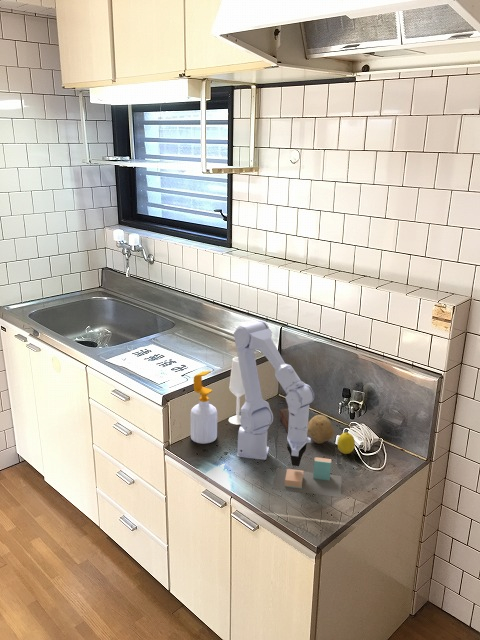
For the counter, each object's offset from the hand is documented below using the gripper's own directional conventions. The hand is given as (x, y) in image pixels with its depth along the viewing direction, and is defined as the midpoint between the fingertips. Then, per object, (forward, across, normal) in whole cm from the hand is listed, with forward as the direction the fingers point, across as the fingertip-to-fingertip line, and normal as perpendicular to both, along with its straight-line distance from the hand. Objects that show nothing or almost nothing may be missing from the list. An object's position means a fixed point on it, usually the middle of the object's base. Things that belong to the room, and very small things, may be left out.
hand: (295, 464), depth 169 cm
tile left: (+3, 0, 0) cm, 3 cm away
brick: (+5, +32, +5) cm, 33 cm away
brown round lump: (+5, +23, -6) cm, 24 cm away
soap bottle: (+5, +17, +33) cm, 37 cm away
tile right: (+4, +1, -8) cm, 9 cm away
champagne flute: (+5, +32, +24) cm, 40 cm away
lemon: (+5, +17, -15) cm, 23 cm away
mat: (+4, -2, -4) cm, 6 cm away
